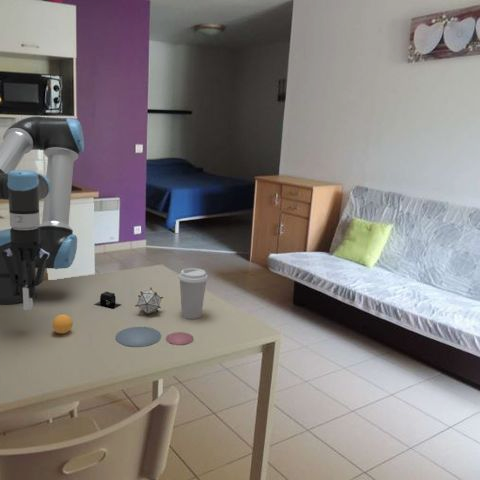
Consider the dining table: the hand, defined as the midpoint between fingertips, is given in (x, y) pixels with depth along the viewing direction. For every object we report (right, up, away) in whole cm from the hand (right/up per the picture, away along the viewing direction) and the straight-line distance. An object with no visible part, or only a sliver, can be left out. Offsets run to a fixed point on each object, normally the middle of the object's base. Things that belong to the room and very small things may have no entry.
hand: (28, 308), depth 136 cm
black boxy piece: (+16, -3, +26) cm, 30 cm away
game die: (+31, -5, +21) cm, 37 cm away
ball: (+9, -5, +2) cm, 10 cm away
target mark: (+31, -9, +3) cm, 32 cm away
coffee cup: (+45, -6, +21) cm, 50 cm away
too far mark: (+43, -10, +3) cm, 44 cm away
